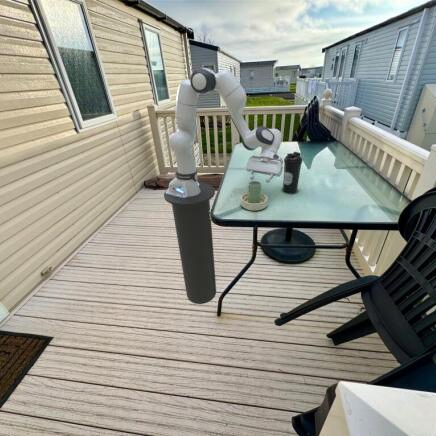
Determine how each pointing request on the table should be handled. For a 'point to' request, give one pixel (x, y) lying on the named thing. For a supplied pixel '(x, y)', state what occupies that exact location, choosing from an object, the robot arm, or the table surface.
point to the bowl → (254, 206)
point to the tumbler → (254, 192)
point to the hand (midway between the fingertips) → (259, 180)
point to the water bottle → (291, 172)
